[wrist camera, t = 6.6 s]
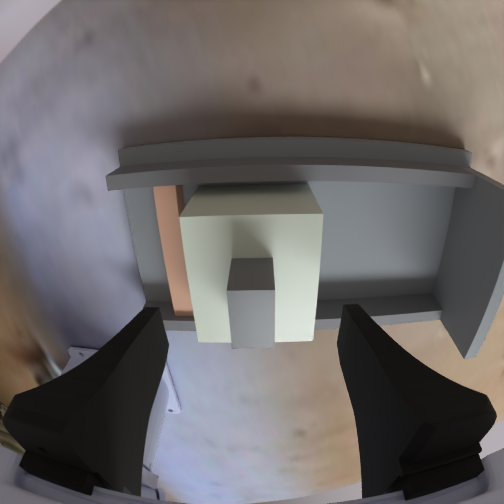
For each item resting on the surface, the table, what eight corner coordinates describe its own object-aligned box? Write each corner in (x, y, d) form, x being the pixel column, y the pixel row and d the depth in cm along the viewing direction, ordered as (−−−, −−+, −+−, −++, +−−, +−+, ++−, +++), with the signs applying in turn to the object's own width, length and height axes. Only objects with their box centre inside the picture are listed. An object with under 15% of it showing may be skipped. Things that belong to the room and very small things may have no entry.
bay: (154, 314, 23) (127, 385, 17) (123, 147, 17) (61, 178, 11) (432, 306, 22) (470, 367, 16) (465, 149, 16) (534, 181, 10)
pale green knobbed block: (209, 294, 21) (191, 376, 14) (197, 187, 17) (163, 243, 11) (303, 292, 20) (318, 376, 14) (308, 184, 17) (336, 239, 11)
